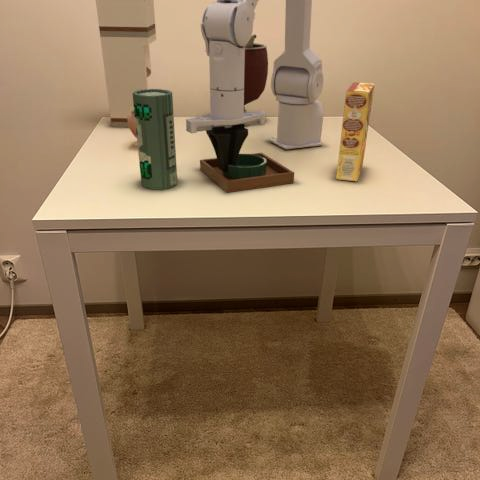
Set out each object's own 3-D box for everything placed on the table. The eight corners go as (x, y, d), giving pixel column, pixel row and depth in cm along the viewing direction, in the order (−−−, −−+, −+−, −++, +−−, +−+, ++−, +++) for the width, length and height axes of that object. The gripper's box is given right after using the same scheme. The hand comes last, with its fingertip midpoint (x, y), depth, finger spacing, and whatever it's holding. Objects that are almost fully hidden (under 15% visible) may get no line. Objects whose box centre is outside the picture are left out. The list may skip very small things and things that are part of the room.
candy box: (357, 182, 90) (371, 91, 81) (334, 179, 91) (345, 89, 82) (362, 168, 97) (376, 83, 88) (341, 165, 98) (352, 81, 89)
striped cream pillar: (155, 127, 120) (141, -52, 100) (111, 126, 120) (89, -53, 100) (161, 116, 130) (150, -49, 110) (121, 116, 130) (102, -50, 110)
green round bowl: (251, 164, 97) (252, 151, 95) (274, 176, 91) (274, 163, 89) (215, 170, 93) (214, 157, 92) (235, 183, 88) (235, 169, 86)
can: (145, 177, 91) (137, 88, 82) (178, 178, 90) (173, 89, 82) (139, 189, 86) (129, 95, 77) (174, 190, 85) (168, 96, 77)
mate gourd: (205, 116, 131) (203, 29, 120) (252, 112, 136) (254, 28, 124) (226, 130, 120) (226, 35, 108) (277, 125, 124) (282, 33, 113)
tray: (261, 162, 99) (261, 152, 98) (293, 182, 89) (294, 172, 88) (200, 169, 95) (199, 159, 94) (226, 192, 85) (226, 181, 84)
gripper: (252, 81, 88) (250, 158, 96) (177, 87, 82) (181, 168, 90) (273, 87, 83) (269, 168, 91) (195, 94, 77) (198, 180, 85)
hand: (226, 169), depth 90 cm, fingers closed
